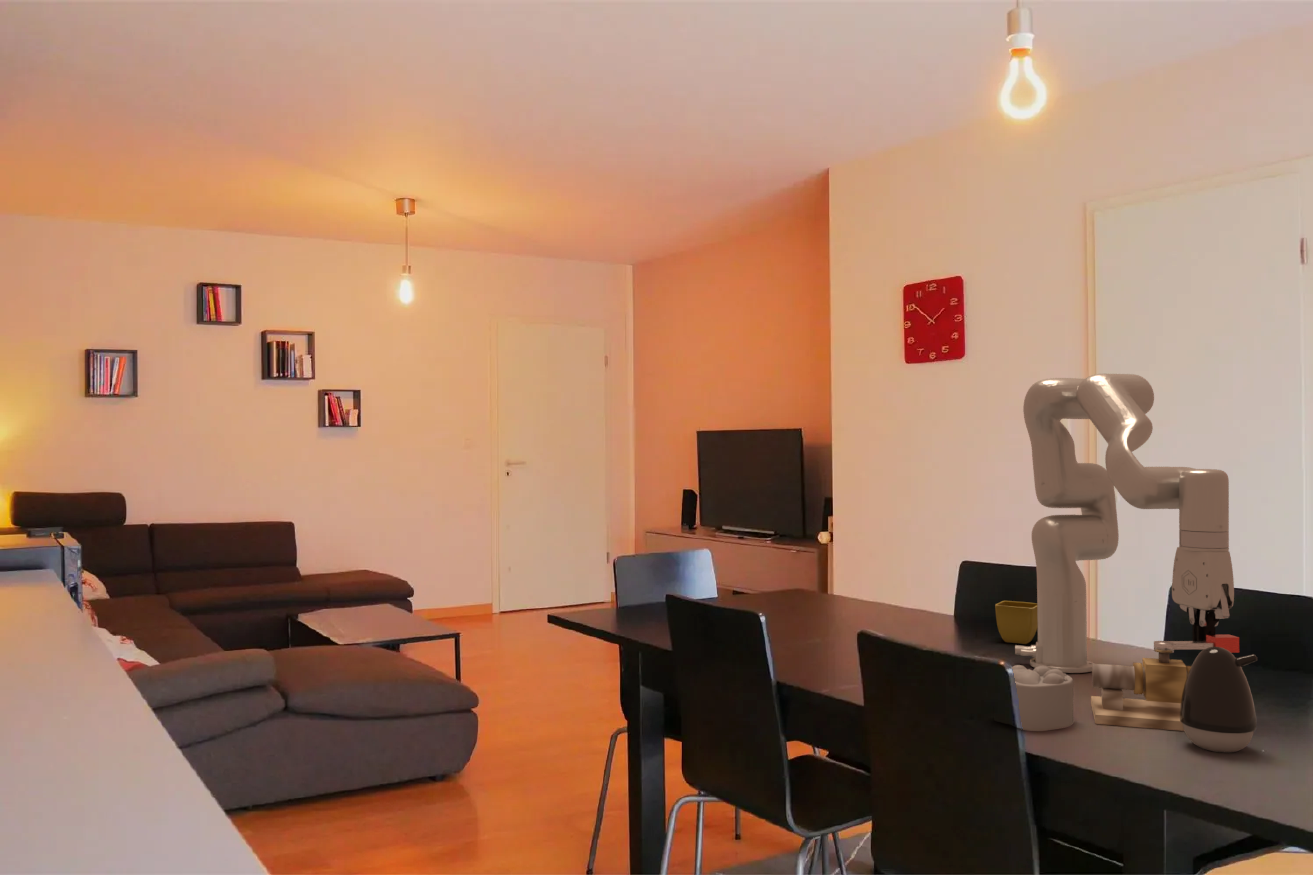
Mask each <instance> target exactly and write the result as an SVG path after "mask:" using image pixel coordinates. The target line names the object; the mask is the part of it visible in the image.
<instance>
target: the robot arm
mask: <svg viewBox="0 0 1313 875" xmlns="http://www.w3.org/2000/svg"><path fill="white" fill-rule="evenodd" d="M1023 400H1024V401H1023V409H1022V410H1023V411H1022V412H1023V419H1024V423H1025V424H1024V425H1025V426H1026V429H1027V433H1028V437H1029V440H1030V445H1031V457H1032V460H1031V461H1032V470H1033V480H1034V481H1033V482H1034V490H1035V495H1036V499H1037V501H1038V503H1039V504H1040V505H1042V506H1043V507H1046V508H1048V509H1049V508H1050V509H1080V511H1081V514H1053V515H1052V514H1051V515H1047V516H1044V517H1042V518H1040V519H1038V520H1037V521H1036V522H1035V523H1034V525H1033V527H1032V531H1031V543H1032V544H1031V545H1032V548H1033V549H1032V550H1033V553H1034V560H1035V567H1036V568H1035V570H1036V589H1037V590H1036V592H1037V593H1036V594H1037V595H1036V596H1037V597H1036V600H1037V620H1038V628H1037V641H1036V642H1035V644H1031V645H1030V646H1026V645H1019V644H1018V645H1017V644H1015V645H1014V654H1015V655H1017V656H1019V655H1020V656H1023V657H1027V656H1028V657H1029V656H1030V657H1031V658H1030V660H1029V665H1030V666H1031V667H1033V669H1035V668H1036V667H1038V666H1045V667H1048V668H1050V669H1051V670H1052V669H1059V670H1061V671H1062V672H1063V673H1065V674H1083V673H1092V664H1095V662H1093V661H1092V660H1088V648H1087V647H1088V643H1087V642H1088V641H1087V640H1088V639H1087V638H1088V637H1087V636H1088V633H1087V632H1088V631H1087V630H1088V629H1087V618H1088V617H1087V583H1086V579H1085V576H1084V574H1083V572H1082V570H1081V569H1080V568H1079V565H1078V564H1077V562H1078V561H1095V560H1096V561H1098V560H1100V561H1101V560H1106V559H1108V558H1110V557H1112V556H1113V555H1114V554H1115V553H1116V551H1117V548H1118V546H1119V524H1118V514H1117V513H1118V512H1117V504H1116V493H1115V489H1116V491H1117V492H1118V493H1119V495H1120V496H1121V497H1122V498H1123V499H1124V500H1125V502H1127V503H1128V504H1129V505H1130V506H1132V507H1134V508H1137V509H1140V510H1178V511H1179V512H1178V513H1179V514H1178V515H1179V516H1178V523H1179V525H1178V528H1179V530H1178V538H1179V541H1178V542H1179V543H1178V545H1179V546H1178V547H1176V551H1175V556H1174V558H1173V561H1174V562H1173V567H1172V568H1173V569H1172V578H1171V579H1172V581H1171V582H1172V583H1171V584H1172V585H1171V598H1172V601H1173V602H1174V603H1175V604H1177V605H1179V607H1180V609H1181V610H1182V611H1184V612H1186V613H1187V615H1188V616H1189V617H1188V618H1189V622H1190V624H1191V625H1192V626H1191V627H1192V628H1191V629H1192V634H1191V636H1192V640H1191V641H1206V635H1216V627H1217V626H1218V625H1219V622H1220V620H1221V619H1223V620H1224V619H1229V618H1230V616H1231V615H1230V609H1232V608H1233V606H1234V603H1235V602H1234V601H1235V599H1234V598H1235V584H1234V583H1235V581H1234V580H1235V579H1234V571H1233V563H1232V558H1231V553H1230V552H1231V551H1230V548H1229V547H1230V546H1229V545H1230V542H1229V541H1230V536H1229V535H1230V532H1229V531H1230V528H1229V526H1230V508H1229V507H1230V506H1229V505H1230V504H1229V502H1230V497H1229V496H1230V494H1229V492H1230V490H1229V489H1230V488H1229V487H1230V486H1229V485H1230V484H1229V482H1230V481H1229V476H1228V473H1227V472H1225V471H1224V470H1222V469H1212V468H1193V467H1188V466H1144V465H1142V464H1141V462H1140V461H1139V459H1138V458H1137V457H1136V456H1135V454H1134V453H1133V452H1134V451H1136V450H1138V449H1139V448H1141V447H1143V445H1144V444H1145V443H1146V442H1147V441H1148V440H1149V439H1150V437H1151V435H1152V434H1153V430H1154V429H1153V423H1152V421H1151V419H1150V418H1149V417H1148V416H1147V415H1146V414H1148V412H1150V411H1151V410H1152V408H1153V406H1154V402H1155V393H1154V389H1153V387H1152V385H1151V383H1150V382H1149V381H1148V380H1147V379H1146V378H1144V377H1143V376H1141V375H1139V374H1133V373H1131V374H1130V373H1096V374H1092V375H1089V376H1087V377H1085V378H1079V377H1078V378H1076V377H1075V378H1073V377H1053V378H1051V377H1050V378H1045V379H1041V380H1038V381H1037V382H1034V383H1033V384H1032V385H1031V386H1030V387H1029V388H1028V390H1027V392H1026V394H1025V396H1024V399H1023ZM1063 419H1064V420H1065V419H1066V420H1090V422H1091V423H1092V424H1093V425H1094V427H1095V428H1096V430H1097V431H1098V432H1099V433H1100V435H1101V437H1103V439H1104V440H1105V442H1106V443H1107V447H1106V450H1105V458H1104V459H1105V460H1104V461H1105V467H1103V466H1102V465H1100V464H1097V463H1093V462H1078V461H1077V457H1076V449H1075V448H1076V447H1075V441H1074V439H1073V436H1072V434H1070V431H1069V430H1068V428H1066V426H1065V425H1064V424H1063V423H1062V422H1061V420H1063ZM1199 650H1201V651H1202V650H1204V649H1199Z"/></svg>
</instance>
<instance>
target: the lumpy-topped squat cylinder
mask: <svg viewBox="0 0 1313 875" xmlns="http://www.w3.org/2000/svg"><path fill="white" fill-rule="evenodd" d="M1011 668H1012V669H1013V673H1014V678H1015V683H1016V688H1017V694H1018V698H1019V709H1020V716H1021V722H1022V727H1023V731H1028V732H1030V731H1031V732H1045V731H1053V730H1058V729H1064V728H1069V727H1071V726H1072V725H1073V724H1074V680H1073V678H1072V676H1070V675H1068V674H1067V673H1063V672H1062V671H1061V670H1059V669H1052V670H1051V669H1050V668H1048V667H1045V666H1038V667H1036V668H1033V670H1032V669H1031V668H1029V669H1027V668H1026V667H1025V666H1024V665H1020V664H1015V665H1013V666H1012V667H1011Z"/></svg>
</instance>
